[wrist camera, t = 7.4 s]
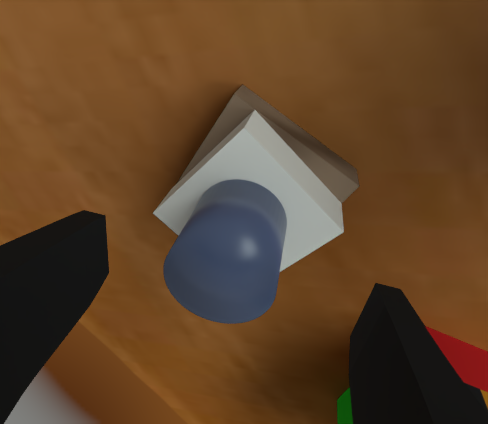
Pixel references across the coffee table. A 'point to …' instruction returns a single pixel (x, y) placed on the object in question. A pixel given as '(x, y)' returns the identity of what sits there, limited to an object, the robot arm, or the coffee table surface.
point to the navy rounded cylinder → (229, 253)
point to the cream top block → (269, 176)
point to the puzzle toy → (462, 360)
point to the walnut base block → (302, 143)
